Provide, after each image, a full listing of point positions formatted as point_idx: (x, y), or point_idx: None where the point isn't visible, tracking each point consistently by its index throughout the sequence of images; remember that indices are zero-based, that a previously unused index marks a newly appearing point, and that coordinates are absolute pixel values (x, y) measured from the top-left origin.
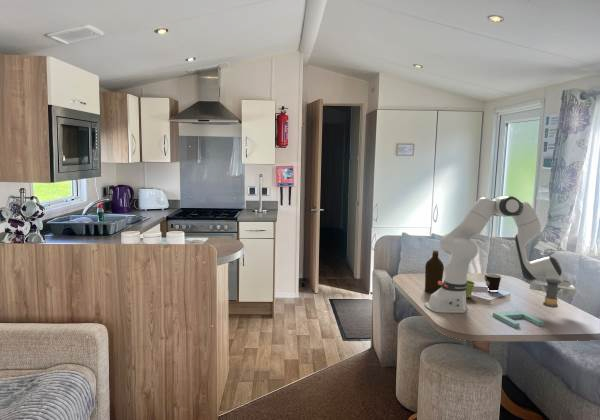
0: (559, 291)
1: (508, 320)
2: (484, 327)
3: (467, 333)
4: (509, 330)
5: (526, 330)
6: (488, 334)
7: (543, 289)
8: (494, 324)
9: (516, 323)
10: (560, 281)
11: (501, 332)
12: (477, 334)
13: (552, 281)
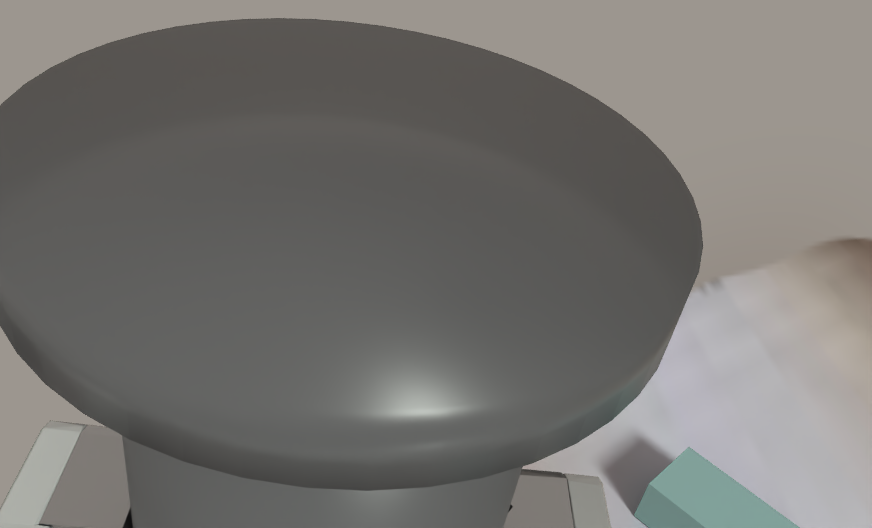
0: (86, 429)
1: (784, 518)
2: (867, 375)
3: (865, 244)
4: (679, 394)
5: (547, 460)
6: (761, 271)
7: (588, 477)
8: (860, 482)
9: (676, 464)
10: (21, 100)
11: (710, 331)
12: (812, 250)
13: (392, 30)
